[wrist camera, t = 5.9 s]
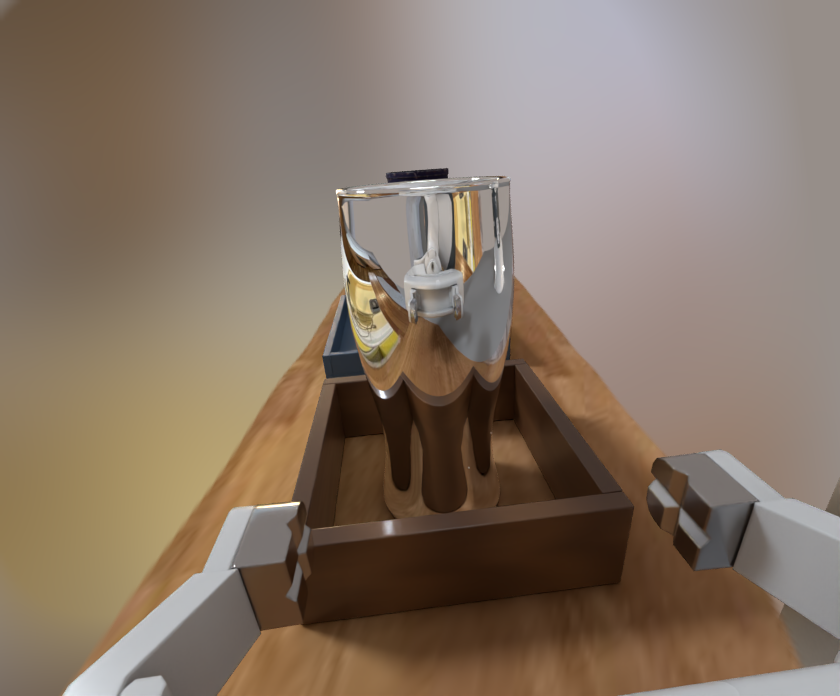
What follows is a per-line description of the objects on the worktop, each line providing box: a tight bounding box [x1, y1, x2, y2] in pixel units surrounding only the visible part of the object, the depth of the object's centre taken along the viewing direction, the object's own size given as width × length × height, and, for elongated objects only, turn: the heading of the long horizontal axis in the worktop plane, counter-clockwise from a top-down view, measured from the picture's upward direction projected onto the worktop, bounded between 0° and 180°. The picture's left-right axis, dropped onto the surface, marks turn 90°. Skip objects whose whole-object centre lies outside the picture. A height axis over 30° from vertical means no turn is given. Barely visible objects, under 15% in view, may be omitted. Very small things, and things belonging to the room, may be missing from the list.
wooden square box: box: [292, 359, 634, 625], centre depth 21 cm, size 13×13×4 cm
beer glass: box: [336, 176, 514, 519], centre depth 19 cm, size 7×7×15 cm
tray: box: [322, 295, 510, 379], centre depth 41 cm, size 15×17×2 cm
